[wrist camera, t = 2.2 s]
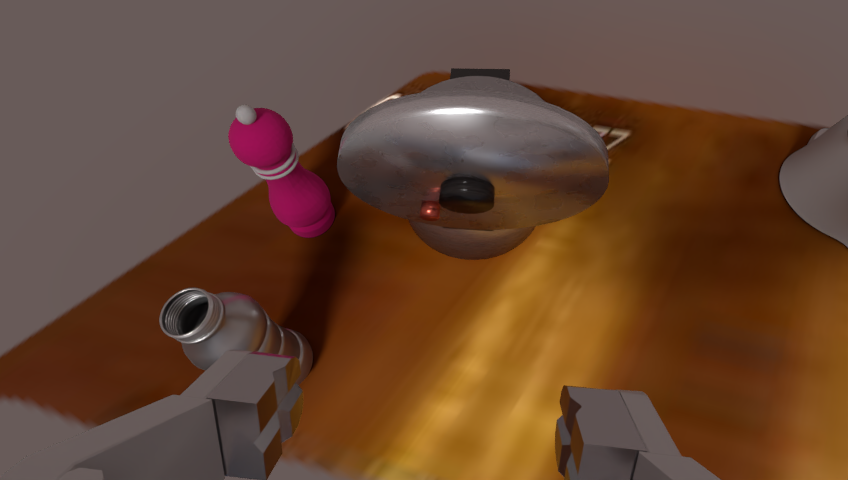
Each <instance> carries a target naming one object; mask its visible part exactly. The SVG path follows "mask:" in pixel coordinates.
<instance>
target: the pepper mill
mask: <svg viewBox="0 0 848 480" xmlns="http://www.w3.org/2000/svg"><path fill="white" fill-rule="evenodd" d="M228 137H229V143H230V146H231V148H232V150H233V152H234V154H235V155H236V156H237V158H238V159H239V160H240V161H242V162H243V163H245V164H247V165H249V166H250V167H251V168H252V169H253V170H254V172H255V173H256V174H257V175H258V176H259V177H261V178H263V179H266V181H267V183H268V186H269V201H270V205H271V208H272V210H273V212H274V214H275V215H276V217H277V218H278V219H279V220H280V221H281V222H282V223H284V224H285V225H288V226H289V227H290V228H291V230H292V231H293V232H294V233H295V234H297V235H298V236H301V237H306V238H311V237H316V236H319V235H321V234H323V233H324V232H326V231H327V230H328V229H329V228H330V227H331V225H332V223H333V221H334V218H335V210H334V207H333V205H332V203H331V201H330V200H331V197H330V192H329V189H328V187H327V186H326V184H325V183H324V181H323V180H322V179H321V178H320V177H318V176H317V175H316V174H314V173H313V172H311V171H308V170H306V169H304V168H303V167H302V166H301V165H300V163H299V162H298V158H299V157H298V151H297V149H296V148H295V146H294V144H293V135H292V131H291V129H290V126H289V125H288V123H287V122H286V121H285V119H284V118H282V116H281V115H279V114H278V113H276V112H274V111H272V110H269V109H265V108H252V107H251V106H249V105H242V106H240V107H238V109H237V110H236V119H235V120H234V121H233V123H232V124H231V126H230V130H229V136H228Z"/></svg>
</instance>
